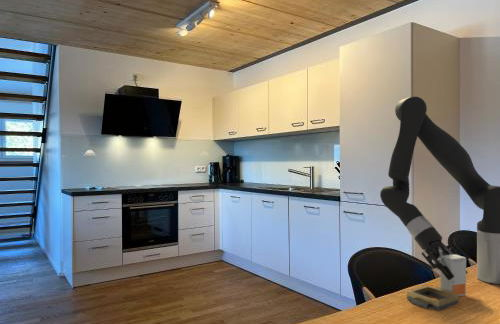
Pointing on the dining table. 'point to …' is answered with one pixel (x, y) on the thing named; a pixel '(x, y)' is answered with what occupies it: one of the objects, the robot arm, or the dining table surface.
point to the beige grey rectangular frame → (421, 300)
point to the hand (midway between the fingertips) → (458, 276)
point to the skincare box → (455, 274)
